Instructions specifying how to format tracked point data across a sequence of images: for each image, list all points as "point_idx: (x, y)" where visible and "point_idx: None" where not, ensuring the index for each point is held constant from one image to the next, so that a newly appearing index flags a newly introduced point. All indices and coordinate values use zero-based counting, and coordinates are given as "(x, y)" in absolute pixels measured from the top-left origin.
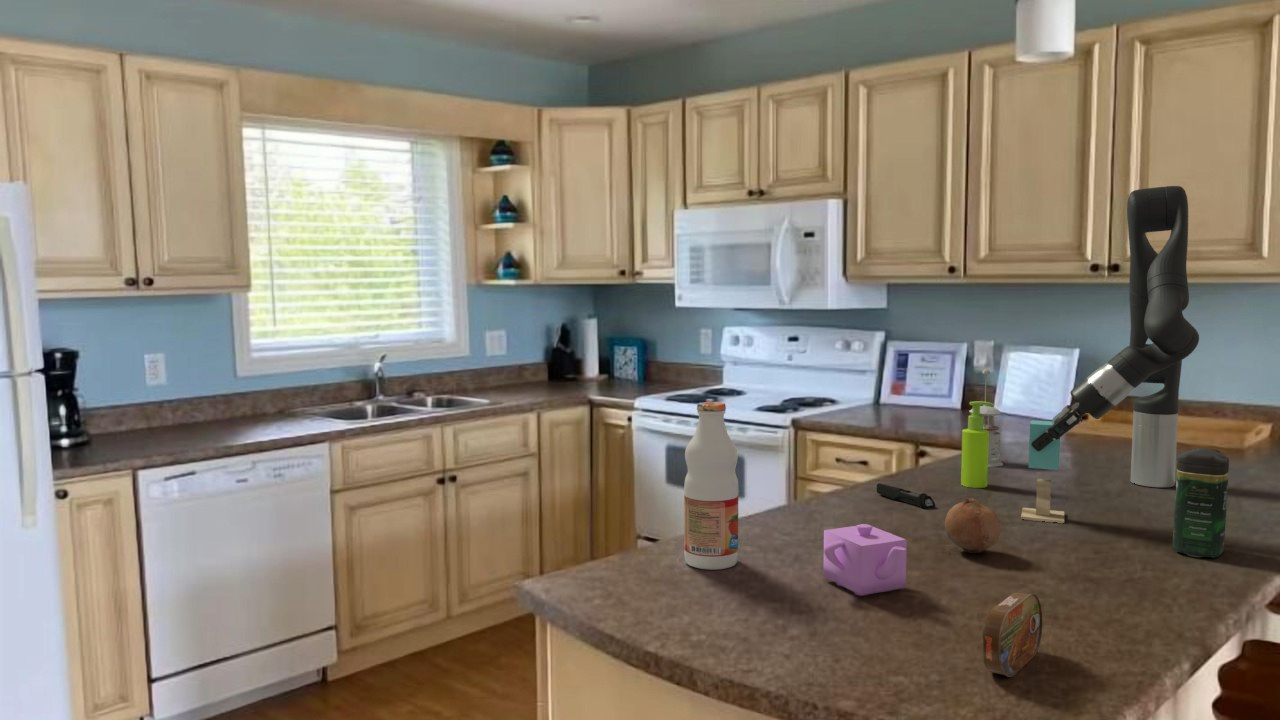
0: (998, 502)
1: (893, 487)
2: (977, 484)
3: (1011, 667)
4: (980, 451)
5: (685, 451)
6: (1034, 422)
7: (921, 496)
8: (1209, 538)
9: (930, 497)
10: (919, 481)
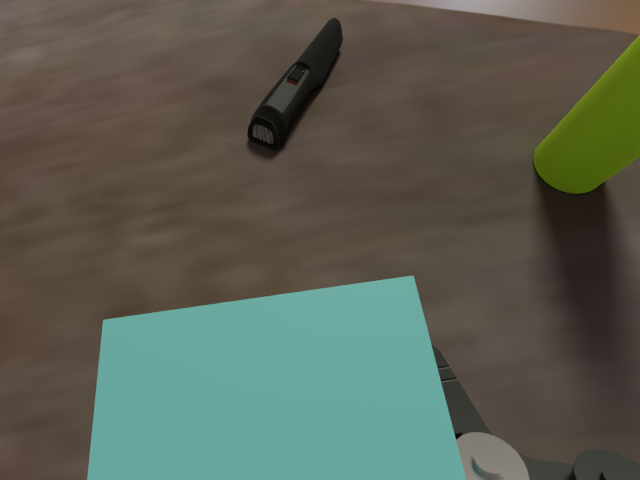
0: (415, 257)
1: (310, 48)
2: (547, 173)
3: None
4: (628, 109)
5: None
6: (246, 342)
7: (259, 110)
8: None
9: (271, 126)
10: (507, 66)
